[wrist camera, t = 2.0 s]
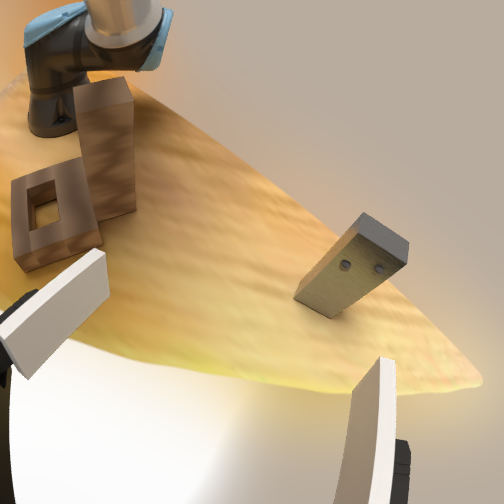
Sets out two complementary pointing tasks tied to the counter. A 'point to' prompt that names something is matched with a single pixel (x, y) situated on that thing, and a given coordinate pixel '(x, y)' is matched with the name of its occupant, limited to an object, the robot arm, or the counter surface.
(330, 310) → the grey metal block
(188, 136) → the counter surface
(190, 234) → the counter surface
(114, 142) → the wooden post with frame
